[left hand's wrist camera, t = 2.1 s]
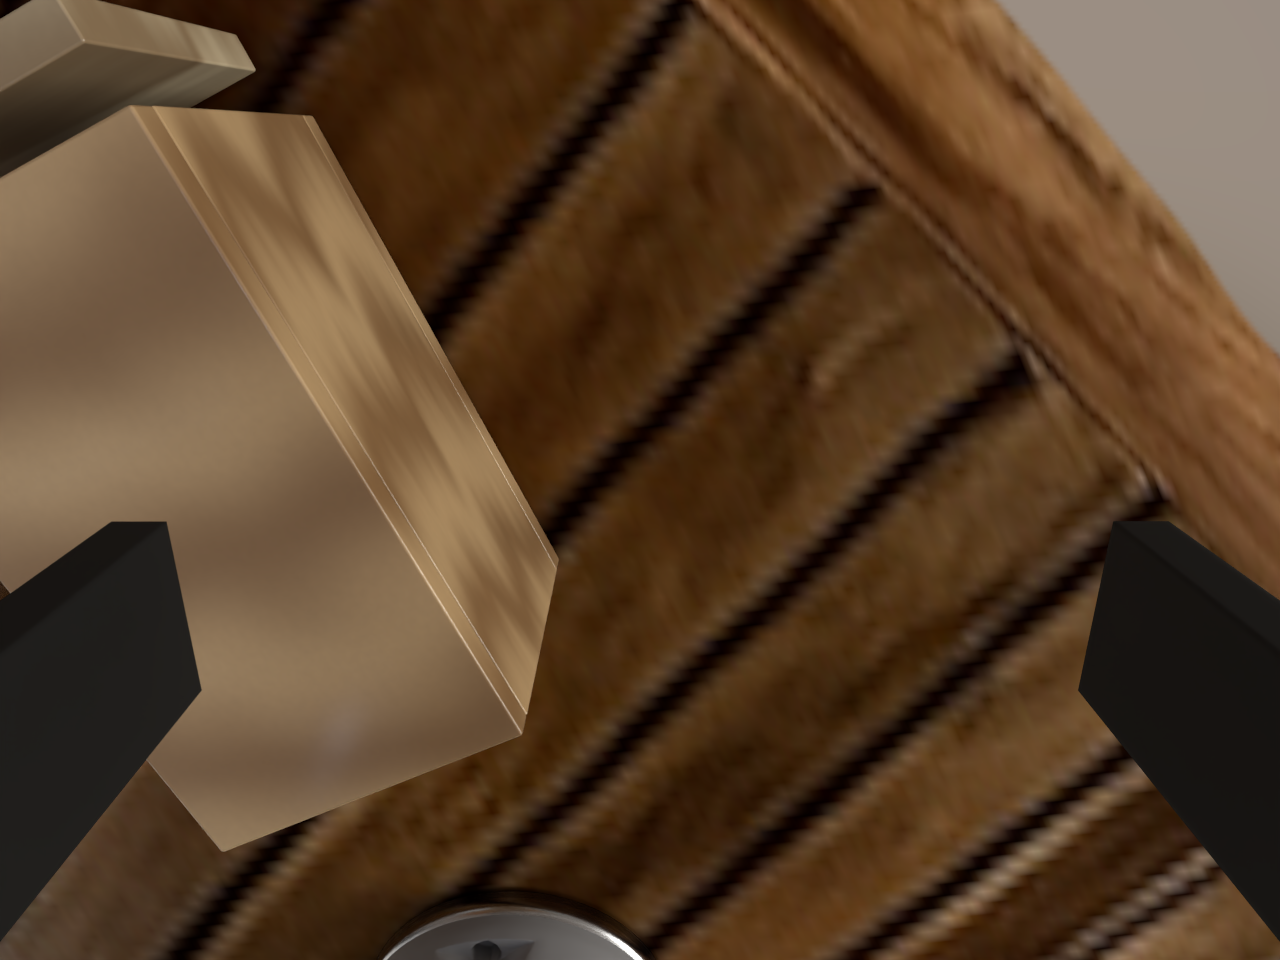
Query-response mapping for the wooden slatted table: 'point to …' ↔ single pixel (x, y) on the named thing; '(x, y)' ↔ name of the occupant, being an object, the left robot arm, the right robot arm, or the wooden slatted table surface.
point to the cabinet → (263, 458)
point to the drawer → (100, 69)
